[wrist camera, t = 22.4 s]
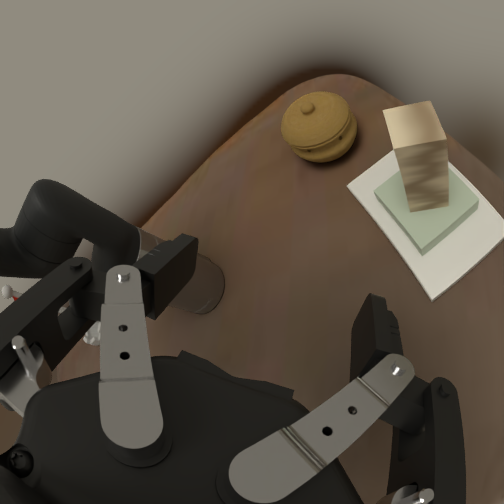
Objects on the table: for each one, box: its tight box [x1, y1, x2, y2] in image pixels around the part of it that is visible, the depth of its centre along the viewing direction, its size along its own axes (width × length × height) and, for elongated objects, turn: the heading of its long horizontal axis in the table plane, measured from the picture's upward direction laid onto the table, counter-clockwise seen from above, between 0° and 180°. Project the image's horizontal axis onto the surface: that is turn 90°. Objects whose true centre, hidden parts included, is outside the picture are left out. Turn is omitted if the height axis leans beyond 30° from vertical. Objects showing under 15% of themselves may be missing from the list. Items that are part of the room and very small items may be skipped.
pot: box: [281, 91, 357, 163], centre depth 42 cm, size 12×12×10 cm
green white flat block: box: [347, 150, 504, 302], centre depth 31 cm, size 20×14×4 cm
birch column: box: [383, 101, 449, 212], centre depth 25 cm, size 5×5×12 cm
